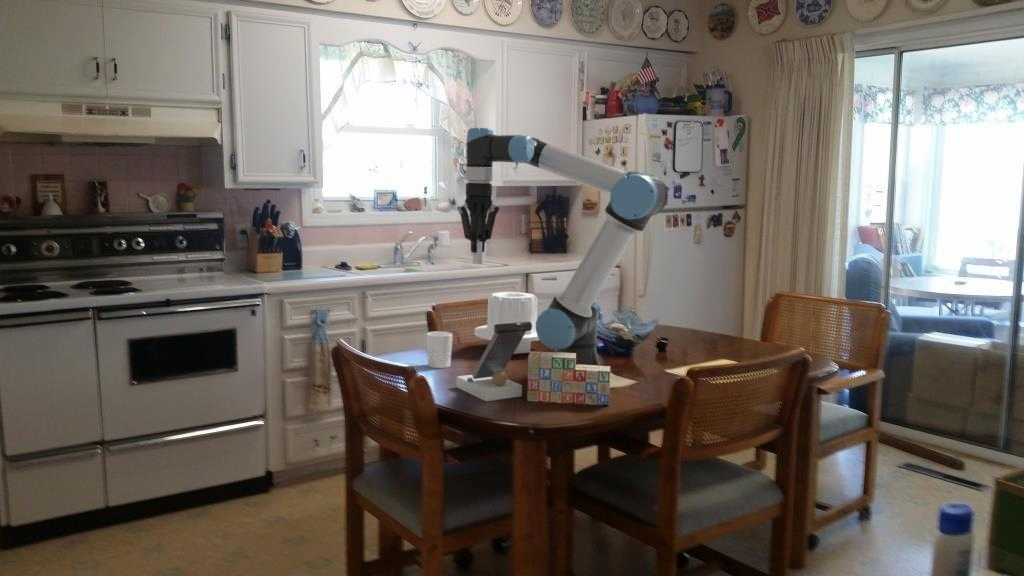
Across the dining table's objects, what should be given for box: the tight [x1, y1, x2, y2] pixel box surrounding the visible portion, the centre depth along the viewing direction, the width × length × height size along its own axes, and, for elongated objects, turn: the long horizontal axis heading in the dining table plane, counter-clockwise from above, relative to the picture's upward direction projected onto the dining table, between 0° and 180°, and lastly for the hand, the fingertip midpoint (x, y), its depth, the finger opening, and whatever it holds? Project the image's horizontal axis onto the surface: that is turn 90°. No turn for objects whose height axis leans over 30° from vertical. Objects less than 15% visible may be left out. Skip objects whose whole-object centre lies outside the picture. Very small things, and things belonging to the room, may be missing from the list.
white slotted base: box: [456, 370, 523, 402], centre depth 222 cm, size 16×11×7 cm
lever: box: [471, 322, 532, 379], centre depth 217 cm, size 2×10×21 cm
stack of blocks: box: [526, 350, 611, 407], centre depth 216 cm, size 21×6×12 cm, turn 82°
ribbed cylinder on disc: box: [473, 291, 540, 355], centre depth 275 cm, size 25×25×19 cm
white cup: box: [426, 330, 453, 369], centre depth 251 cm, size 8×8×10 cm
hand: (477, 263), depth 240 cm, fingers closed
